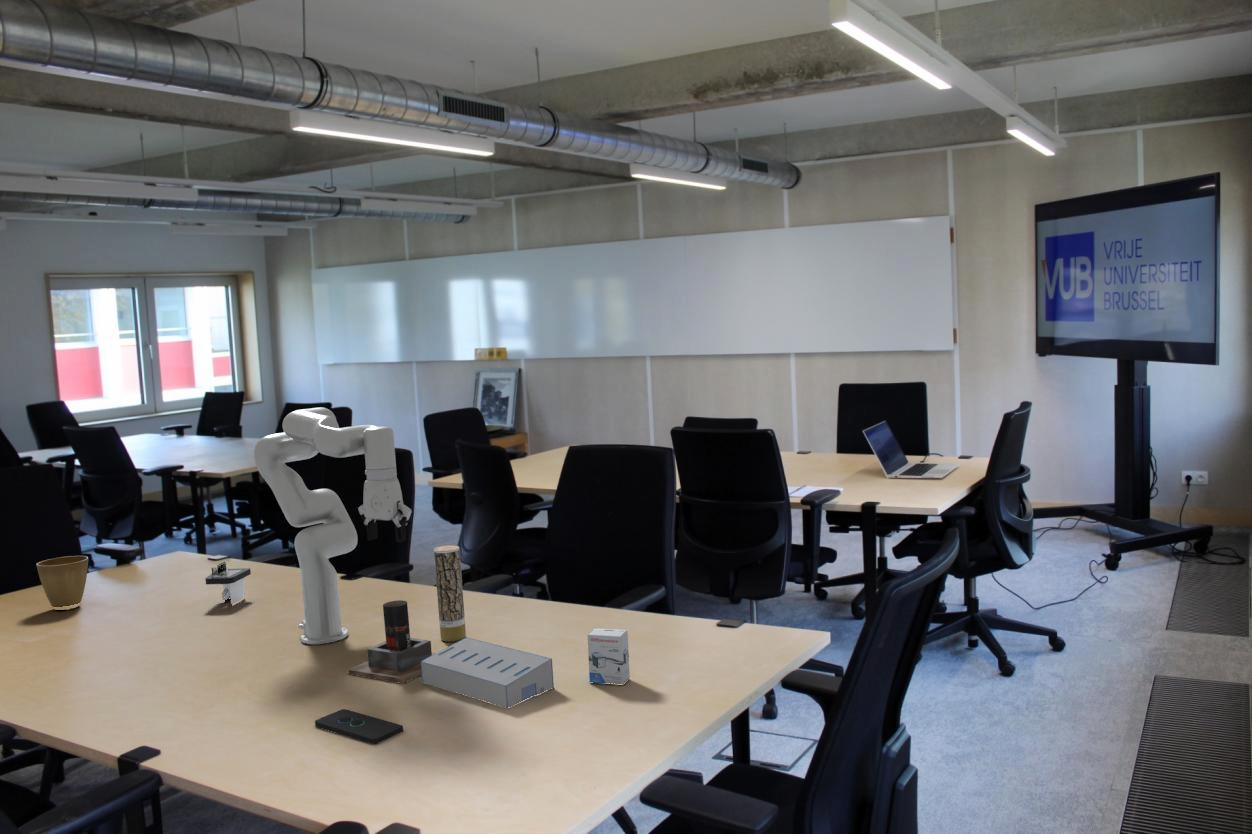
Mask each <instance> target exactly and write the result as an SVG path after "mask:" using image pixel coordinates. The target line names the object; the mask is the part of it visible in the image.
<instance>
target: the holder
mask: <svg viewBox="0 0 1252 834" xmlns="http://www.w3.org/2000/svg"><path fill="white" fill-rule="evenodd" d="M410 641H411V647H409V648H407V649H405V650H403V651H401V652H400V651H393V650H387V646H386V640H385V641H382V642H380V643H377V644H376V645H374V646H372V647H369V648H367V650H366V651H367V661H364V662H363V663H360V664H358V665H355V666H353V667H351V668H349V669H348V670H347V671H348V673H347V674H348V675H349V674H353V675H352V676H355V675H358V676H357V677H361V676H365V677H364V678H367V677H370V678H369V679H373V678H376V679H375V680H379V679H382V680H381V681H385V680H387V681H386V682H391V681H393V682H392V683H397V682H399V683H398V684H403V683H404V684H406V683H408V682H410V681H412V680H414V679H416V678H418V677H420V676H422V675H421V674H422V673H421V661H423V660H424V659H426V658H428V657H430V656H432V655H434V654H436V653H437V652H433V651H432V640H430V639H428V640H427V639H421V638H417V637H416V638H414V637H410ZM419 675H420V676H419ZM417 676H418V677H417ZM415 677H416V678H415ZM413 678H414V679H413ZM411 679H412V680H411ZM409 680H410V681H409ZM407 681H408V682H407ZM405 682H406V683H405Z"/></svg>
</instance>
